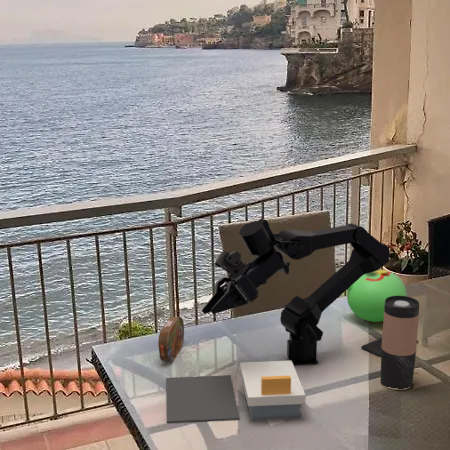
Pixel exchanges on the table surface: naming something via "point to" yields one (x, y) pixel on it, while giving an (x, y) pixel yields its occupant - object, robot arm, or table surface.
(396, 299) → the travel mug
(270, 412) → the parts tub
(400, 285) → the toy bird
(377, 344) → the phone
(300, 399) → the lid
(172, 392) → the mat
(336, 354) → the table surface
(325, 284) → the robot arm
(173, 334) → the tin
